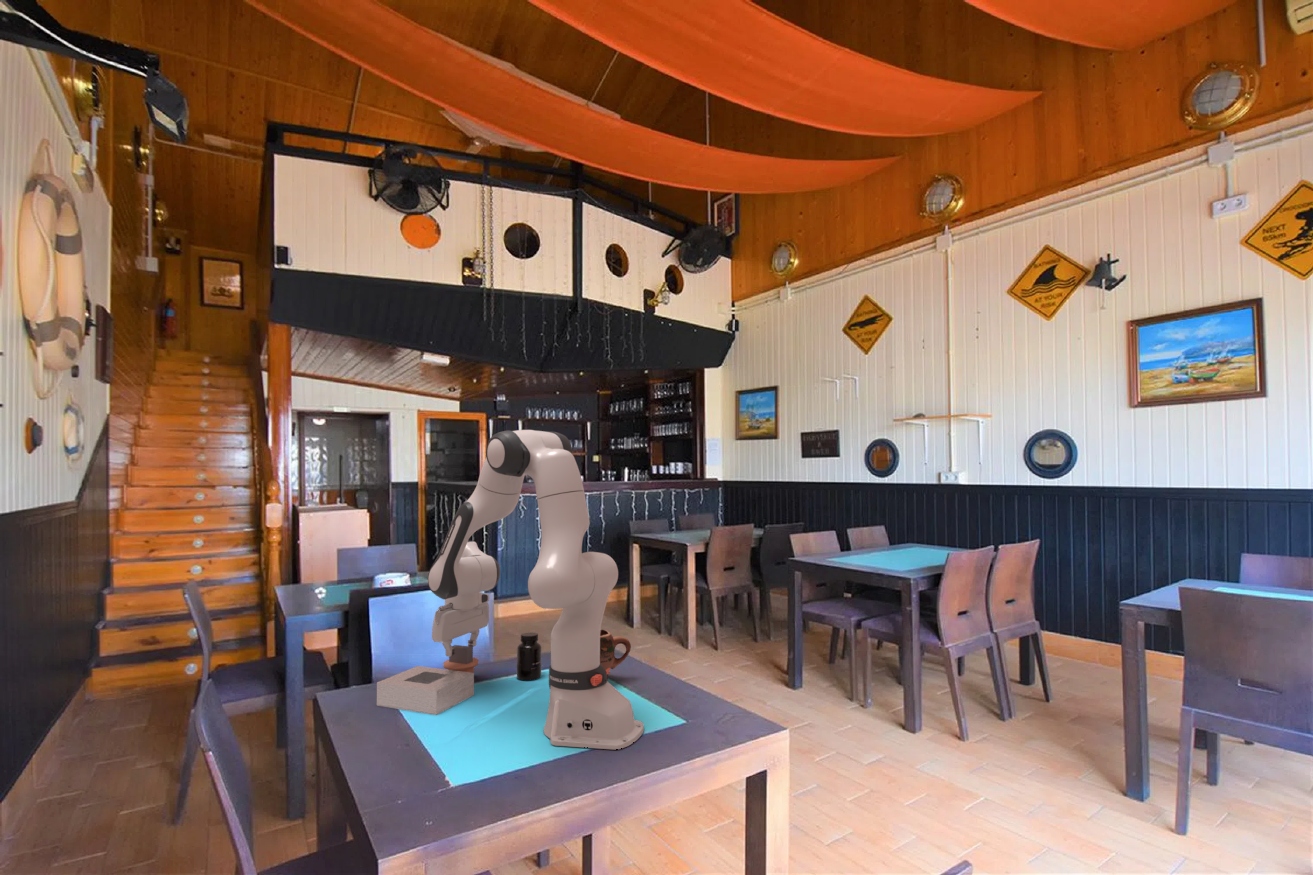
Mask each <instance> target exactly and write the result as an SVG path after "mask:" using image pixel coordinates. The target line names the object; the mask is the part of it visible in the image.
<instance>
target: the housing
mask: <svg viewBox="0 0 1313 875" xmlns="http://www.w3.org/2000/svg"><path fill="white" fill-rule="evenodd" d="M474 695H475V672H474V673H470V672H462V671H454V670H448V669H445V668H439V667H438V668H437V667H430V666H429V667H428V666H422V665H421V666H420V665H416V666H414V667H412V668H409V669H407V670H404V671H401V672H398V673H397V674H395V675H391V676H389V677H387V678H385V679H382V680H380V681H377V682H376V706H377V707H383V708H390V709H396V710H403V711H409V712H415V713H421V714H428V715H433V716H437V715H440V714H441V713H443V712H445V711H446V710H449V709H450V708H452V707H455V706H456V705H458V704H460V703H462V702H464V701H465V700H468V699H469V698H472V697H474Z"/></svg>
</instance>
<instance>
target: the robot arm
mask: <svg viewBox="0 0 1313 875" xmlns="http://www.w3.org/2000/svg"><path fill="white" fill-rule="evenodd" d="M572 449H573V448H572V444H571V442H570V440H569V439H568V437H567V436H566V435H564V434H562V433H560V432H556V431H553V430H551V431H549V430H548V431H544V430H543V431H542V430H534V429H517V430H503V431H500V432H496V433H494V434H493V435H492V436H491V437H490V439H489V440H488V442H487V445H486V449H485V450H486V451H485V454H486V455H485V456H486V457H485V460H484V461H483V464H482V467H481V469H480V473H479V476H478V479H477V480H478V481H477V484H476V487H475V488H474V491H473V492H472V494H471V495H470V496H469V498H468V499H467V500H466V501H465V502H463V503H462V504H461V505H460V506H459V507H458V509H457V511H456V512H455V515H454V517H453V519H452V521H451V524H450V526H449V528H448V531H447V534H446V536H445V539H444V540H443V543H442V546H441V549H440V550H439V553H438V555H437V557H436V559H435V560H434V562H433V563H432V565H431V567H430V569H429V571H428V575H427V585H428V587H429V588H428V589H429V590H430V591H431V593H432V594H434V595H435V596H436V597H438V598H440V599H441V600H444V605H440V606H439V607H438V609H436V611H435V613H434V617H433V620H432V621H433V622H432V628H431V640H432V641H433V642H434V643H440V644H441V643H442V646H443V647H444V649H445V656H446V657H448V658H449V657H450V656H452V655H454V648H452V646H453V645H452V644H453V640H455V639H457V638H459V637H462V636H465V635H467V634H470V638H469V640H467V646H470V647H473V648H474V647H476V646H477V640H478V638H479V635H480V629H484V628H485V627H487V626H488V624H489V621H490V605H489V601H490V594H489V593H485V592H487V591H490V590H493V589H494V588H495V587H496V586H497V585H498V582H499V580H500V578H501V568H500V564H499V562H498V561H497V560H496V558H494V556H492V555H488V554H486V553H485V552H483V551H481V549H480V548H479V547H478V543H477V542H476V541H473V540H469V539H470V538H471V536H473V535H474V533H475V532H476V531H479V530H480V529H482V528H483V527H485V526H487V525H489V524H492V523H495V522H497V521H500V520H503V519H505V518H506V517H507V516H509V515H510V514H511V513H513V511H514V510H515V508H516V507H517V505H518V502H519V500H520V495H521V492H522V488H523V484H524V479H525V477H526V476H528V477H530V478H531V479H532V480H533V482H534V487H535V494H536V501H537V507H538V513H539V521H540V529H541V541H540V542H541V543H540V549H539V555H538V558H537V562H536V563H535V566H534V567H533V569H532V570H531V572H530V573H529V576H528V579H527V590H528V591H527V592H528V595H529V597H530V599H531V600H532V601H533V603H534V604H535V605H536V606H537V607H539V608H542V609H545V610H546V609H548V610H552V609H553V610H558V609H561V610H562V611H561V613H560V615H559V618H558V620H557V621H556V623H555V624H554V625H553V628H552V629H551V632H550V665H549V667H548V687H549V690H550V691H549V700H548V701H549V702H548V709H547V714H546V720H545V723H544V727H543V734H544V735H545V736H546V737H547V738H549V740H550V741H549V742H550V744H551V745H552V746H556V747H557V746H558V747H571V748H572V747H573V748H584V747H585V749H599V750H603V749H604V750H613V751H614V750H616V749H618V750H622V749H624V748H626V747H627V748H628V747H629V746H630V745H632V744H634V743H635V742H636V741H638V739H640V737H641V736H642V735H643V734H644V730H645V727H644V726H645V725H644V723H643V721H641V720H637V719H635V718H634V709H633V706H632V705H633V704H632V702H631V701H630V700H629V699H628V698H627V697H626V696H625V695H624V694H622V693H621V692H620V691H619V690H618V689H616V687H614V686H613V685H612V684H611V683H610V682H609V681H608V682H607V674H608V675H609V674H610V673H611V671H610V670H611V668H608V669H607V670H605V669H604V668H603V667H602V665H601V663H600V631H601V629H602V623H603V618H604V614H605V610H606V606H607V603H608V600H609V597H610V594H611V592H612V591H613V589H614V587H615V586H616V585H617V582H618V579H619V569H618V565H617V562H615V560H614V559H613V558H612V557H611V556H610V555H608V554H607V553H604V552H597V551H587V552H583V550H582V549H583V540H584V537H585V534H586V532H587V531H588V529H589V527H590V515H589V510H588V506H587V499H586V494H585V489H584V483H583V479H582V475H581V472H580V470H579V469H580V468H579V466H578V464H577V461H576V458H575V456H574V455H573V450H572ZM633 742H634V743H633ZM587 747H588V748H587ZM621 748H622V749H621Z"/></svg>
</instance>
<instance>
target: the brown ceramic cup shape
mask: <svg viewBox="0 0 1313 875" xmlns="http://www.w3.org/2000/svg"><path fill="white" fill-rule="evenodd" d="M618 645H624V647H625V652H624V653H623V655H622V656H621V657H619V658H618V657H616V656H615V652H616V651H615V650H616V646H618ZM631 645H632V644H631V642H630V641H629V639H628V638H627V637H624V636H621V635H619V636H618V635H617V636H612V633H611V632H610V631H609V630H606V629H602V628H601V631H600V663H601V665H602V667H603V668H604V669H605V670H607V669H608V668H610V670H614V669H615V668H616V667H618V666H619V665H621V664H622V663H623V662H624V661H625V660H626V658H627V657H628V655H629V654H630V652H631V648H632V646H631ZM608 680H609V674H607V682H609V681H608Z"/></svg>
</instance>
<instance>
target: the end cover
mask: <svg viewBox="0 0 1313 875" xmlns="http://www.w3.org/2000/svg"><path fill="white" fill-rule="evenodd" d="M451 646H452V648H454V655H452V656H450V657H449V656H448V659H446V660H445V661H444V662H443V665H442V667H443V669H446V670H454V671H462V672H470V673H474V674H475V667H476V666H478V665H479V659H478V658H477V657H474V647H470V646H468V645H459V644H453V645H451Z"/></svg>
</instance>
